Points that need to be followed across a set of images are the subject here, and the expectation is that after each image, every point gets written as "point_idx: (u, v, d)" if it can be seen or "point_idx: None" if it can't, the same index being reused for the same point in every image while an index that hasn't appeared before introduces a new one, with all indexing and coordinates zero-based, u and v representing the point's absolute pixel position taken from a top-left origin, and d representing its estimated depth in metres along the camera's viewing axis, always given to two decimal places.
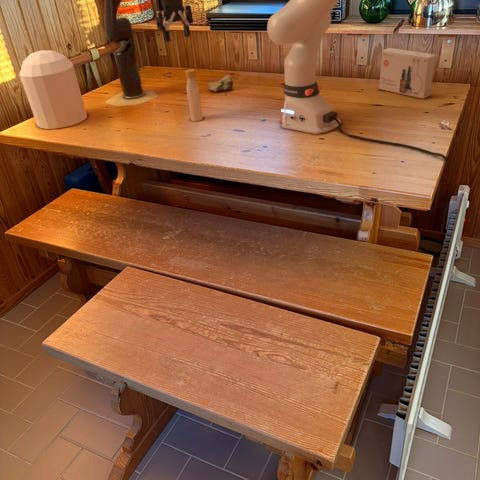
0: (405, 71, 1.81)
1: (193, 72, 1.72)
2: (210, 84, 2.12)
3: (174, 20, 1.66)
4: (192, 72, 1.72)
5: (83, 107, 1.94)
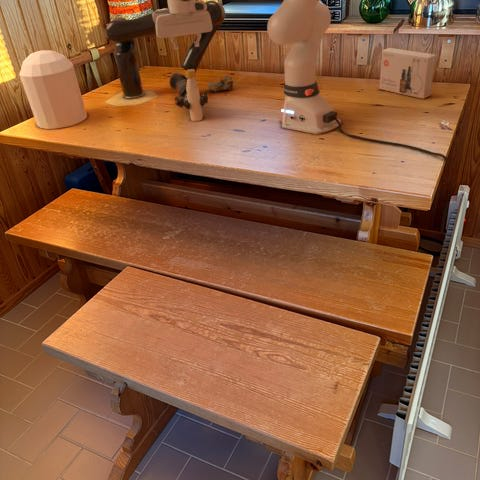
0: (405, 71, 1.81)
1: (193, 72, 1.72)
2: (210, 84, 2.12)
3: None
4: (192, 72, 1.72)
5: (83, 107, 1.94)
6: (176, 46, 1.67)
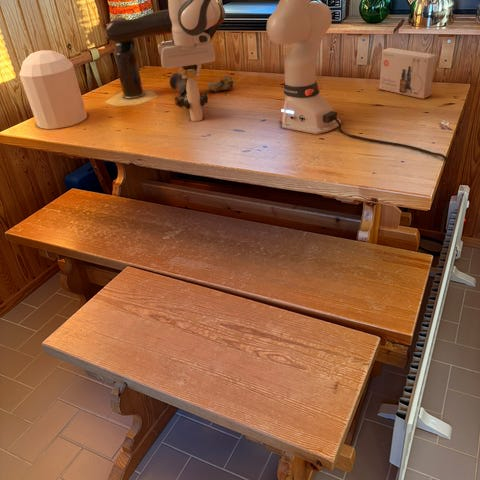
0: (405, 71, 1.81)
1: (193, 72, 1.72)
2: (210, 84, 2.12)
3: None
4: (192, 72, 1.72)
5: (83, 107, 1.94)
6: (184, 75, 1.73)
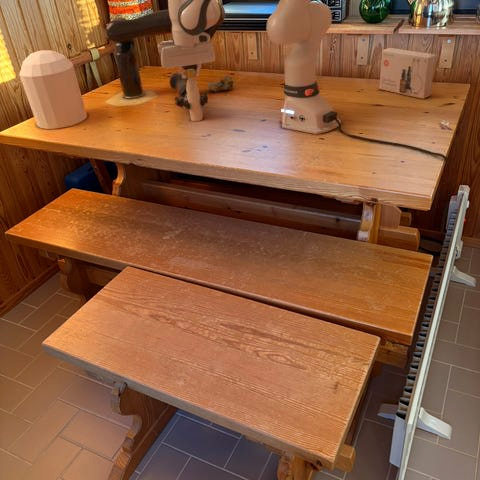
0: (405, 71, 1.81)
1: None
2: (210, 84, 2.12)
3: None
4: None
5: (83, 107, 1.94)
6: (184, 75, 1.73)
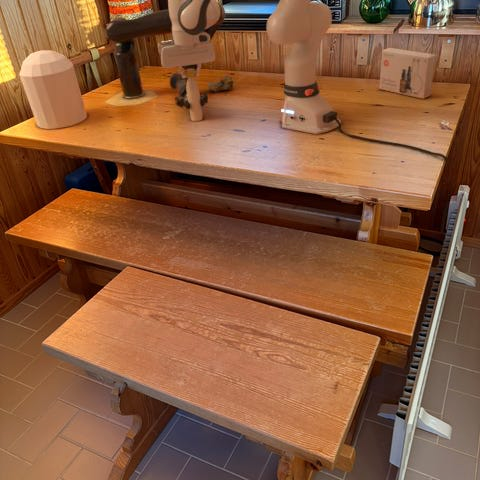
0: (405, 71, 1.81)
1: None
2: (210, 84, 2.12)
3: None
4: None
5: (83, 107, 1.94)
6: (184, 75, 1.73)
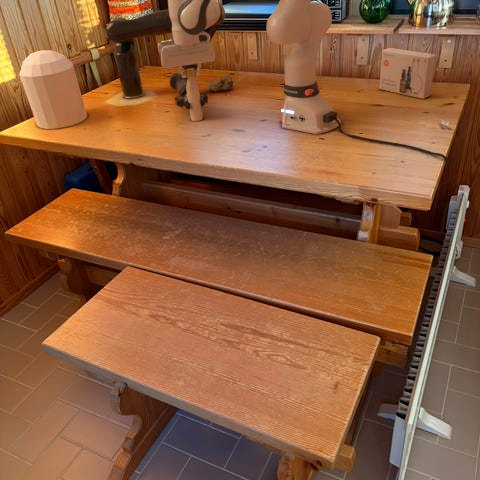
0: (405, 71, 1.81)
1: (185, 72, 1.73)
2: (210, 84, 2.12)
3: None
4: (185, 71, 1.73)
5: (83, 107, 1.94)
6: (184, 74, 1.73)
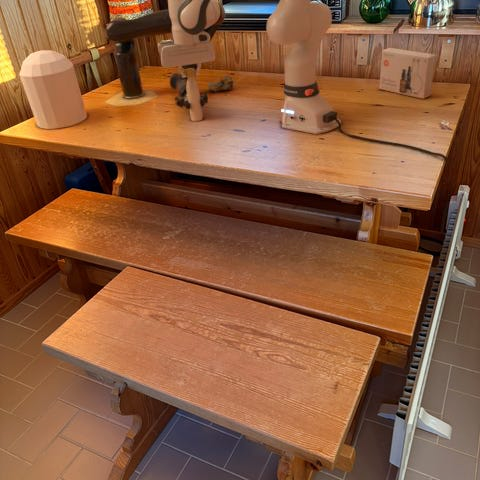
0: (405, 71, 1.81)
1: (192, 71, 1.72)
2: (210, 84, 2.12)
3: None
4: (191, 71, 1.72)
5: (83, 107, 1.94)
6: (184, 74, 1.73)
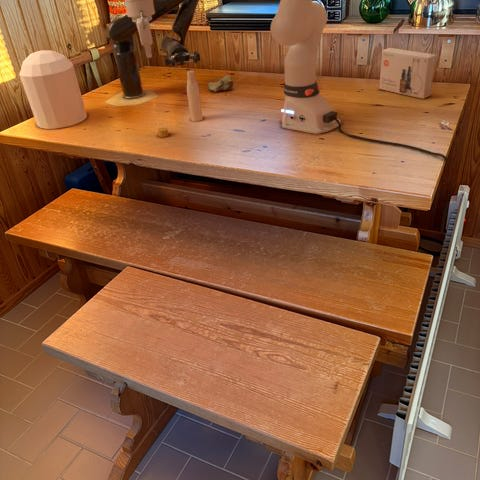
0: (405, 71, 1.81)
1: None
2: (210, 84, 2.12)
3: (184, 61, 1.87)
4: None
5: (83, 107, 1.94)
6: None
